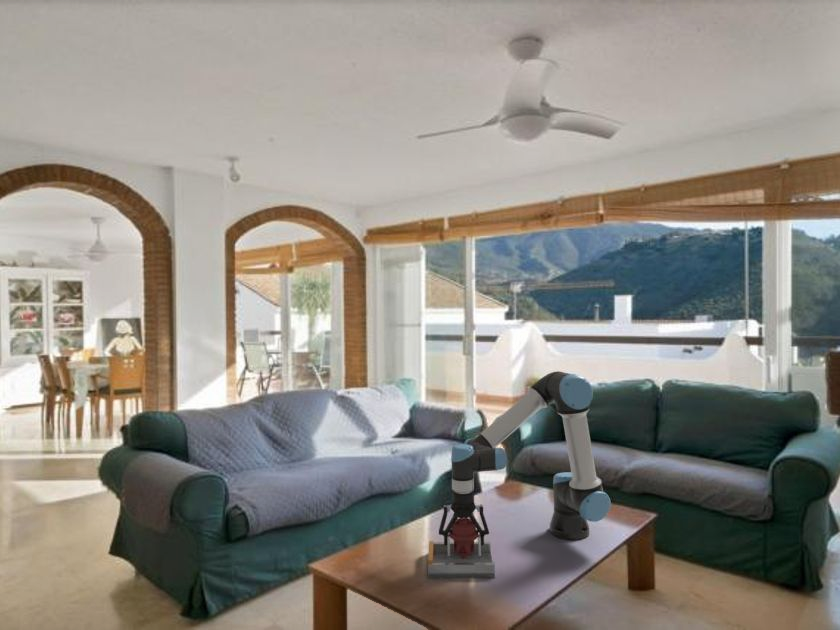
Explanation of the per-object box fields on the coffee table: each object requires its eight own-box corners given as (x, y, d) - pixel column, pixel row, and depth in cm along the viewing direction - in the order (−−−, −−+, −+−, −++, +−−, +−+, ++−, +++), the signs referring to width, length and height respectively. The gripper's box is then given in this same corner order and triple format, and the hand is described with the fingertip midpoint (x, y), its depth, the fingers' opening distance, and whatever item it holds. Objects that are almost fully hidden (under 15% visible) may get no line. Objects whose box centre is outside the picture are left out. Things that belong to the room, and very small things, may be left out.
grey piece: (490, 552, 207) (490, 538, 206) (495, 578, 188) (494, 562, 188) (429, 553, 208) (429, 538, 207) (428, 578, 189) (428, 562, 188)
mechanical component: (480, 549, 201) (477, 562, 191) (452, 547, 203) (447, 560, 193) (479, 515, 201) (476, 525, 191) (451, 513, 203) (447, 524, 193)
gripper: (494, 486, 200) (495, 549, 201) (430, 487, 201) (431, 549, 202) (496, 493, 193) (497, 558, 193) (430, 494, 194) (431, 559, 194)
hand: (464, 554), depth 197 cm, fingers closed on mechanical component, 10 cm apart
